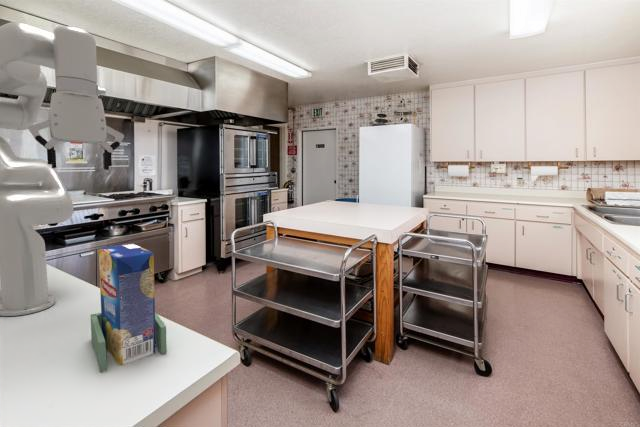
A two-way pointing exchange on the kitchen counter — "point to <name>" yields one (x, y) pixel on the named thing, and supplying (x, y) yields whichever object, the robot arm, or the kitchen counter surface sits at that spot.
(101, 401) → the kitchen counter surface
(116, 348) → the beverage box
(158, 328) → the mount bracket
